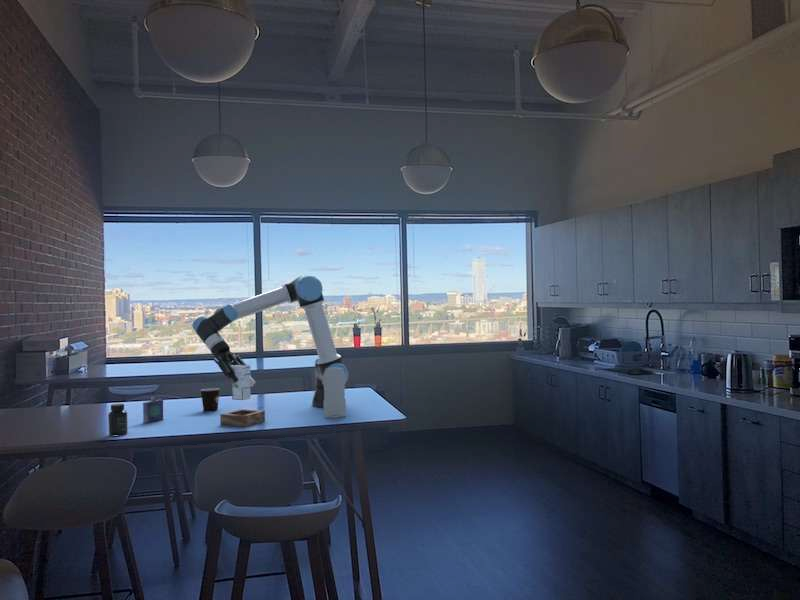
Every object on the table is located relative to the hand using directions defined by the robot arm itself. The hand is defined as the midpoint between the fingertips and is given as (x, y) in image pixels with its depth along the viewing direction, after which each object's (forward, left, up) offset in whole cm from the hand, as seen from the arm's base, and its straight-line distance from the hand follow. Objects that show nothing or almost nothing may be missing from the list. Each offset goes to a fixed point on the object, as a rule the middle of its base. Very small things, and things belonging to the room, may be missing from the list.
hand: (248, 385), depth 266 cm
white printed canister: (+3, -1, -6) cm, 7 cm away
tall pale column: (-34, -15, -16) cm, 41 cm away
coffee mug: (+29, -32, -16) cm, 46 cm away
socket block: (+3, -1, -16) cm, 17 cm away
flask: (+45, -5, -16) cm, 48 cm away
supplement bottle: (+46, +21, -16) cm, 53 cm away
